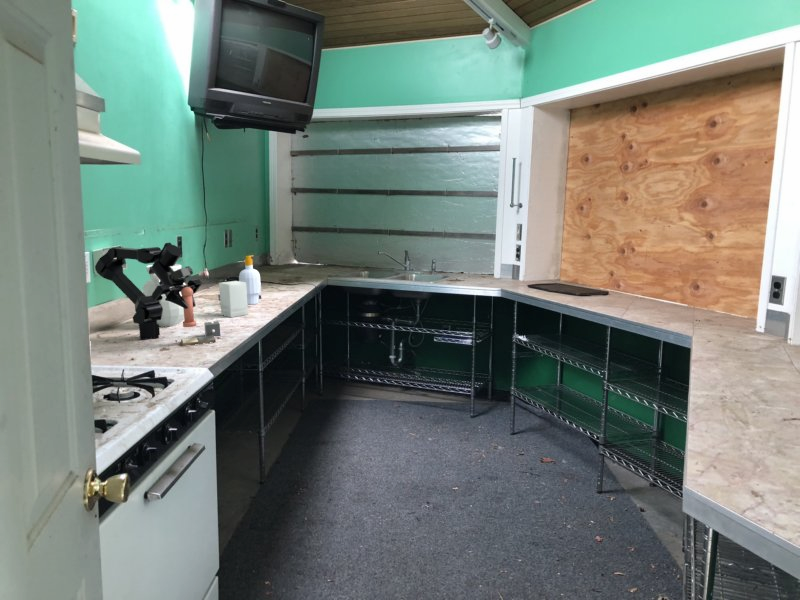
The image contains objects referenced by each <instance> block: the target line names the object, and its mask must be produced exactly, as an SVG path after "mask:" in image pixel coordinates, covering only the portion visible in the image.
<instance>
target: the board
mask: <svg viewBox="0 0 800 600" xmlns="http://www.w3.org/2000/svg"><path fill="white" fill-rule="evenodd" d="M181 342H182V343H181ZM210 342H216V343H217V341H216V337H214V336H198V337H187V338H181V339H180V343H181V345H183V346H182V347H187V346H186V345H191V346H196V345H195V344H199V345H204V344H203V343H208V344H211V343H210Z"/></svg>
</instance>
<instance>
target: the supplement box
mask: <svg viewBox="0 0 800 600" xmlns="http://www.w3.org/2000/svg"><path fill="white" fill-rule="evenodd" d="M218 287H219V299H220V300H219V301H220V303H219V304H220V314H221V316H223V315H224V317H227V318H237V317H241V316H247V315H249V308H248V306H249V305H248V304H247V289H246V282H240V281H239V280H231V281H223V282H218Z"/></svg>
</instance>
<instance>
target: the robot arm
mask: <svg viewBox="0 0 800 600" xmlns="http://www.w3.org/2000/svg"><path fill="white" fill-rule="evenodd" d="M182 254H183V250H182V249H181V247H178V246H177V245H175V244H172V242H166V243H164V245H163V247H162V249H161V248H160V247H159V246H152V247H151V246H150V247H144V248H143V247H142V248H132V247H131V248H130V247H122V246H117V247H110V248H109V249H108V250H107V252H106V253H105V254H103V255H102V256H100V257H99V259H98V260H97V262H96V264H95V265H94V268H95V272H96V273H97V274H98V275H99V276H100V277H101V278H103V279H106V280H108V281H110V282H112V283H113V284H114V285H115V286H116V287H117V288H118V289H119V290H120V291H121V292H122V293H123V294H124V295H125V296H126V297H127V299H129V300H130V301H131V302H132V303H133V304H134V309H135V310H134V311H135V314H134V315H133V316H132V321H133V324H138V331H139V340H150V338H152V339H157V338H160V334H161V333H160V332H161V331H160V326H159V324H157V320H161V317H162V312H163V308H162V305H161V304H160V303H159V302H160V300H162V296H161V295H163V294H165V295H166V299H165V300H166V301H170V302H172V303H175V304H177V305H179V306H181V307H183V308H185V309H187V308H188V306H187V304H186V302H185V301H184V299H183V296H182V297H181V295H180V293H179V292H181V290H182V289H183V288H184V287H190V288H191V289H192V290H193V295H192V300H193V308H195V307H196V304H197V303H196V301H195V297H194V294H196V293H197V292H198V290H199V288H200V287H201V286H202V285H203V283H202V281H201V280H200V279H198V278H195V279H189V280H188V282H187V280H186V279H188V278H190V277H192V275H194V270H193V268H192V267H191V266H189V265H187V266H185V267H181V269H178V270H176V271H173V269H172V268H171V267H170V266H174V265H175V264H177V262H178V261H179V260H180V258H181V256H182ZM124 259H128V260H136V261H138V262H139V263H141V264H143V265H148V264H149V265H150V264H151V265H152V266H151V267H150V270H149V273H148V275H149V274H154V273H155V274H156V276H157V277H158V278H159V280H160V282H159V284H160V285H159V286H157V287H156V289H155V290H154V292H153V293H152V296H145V295H144V294H143V291H141V289H140V288H138V286H137V285H135V283H134V282H133V281H132V280H131V279H130V278H129V277H128V276H127V275H126V274H125V273H124V264H125V260H124ZM183 283H185V284H186V285H184V284H183Z"/></svg>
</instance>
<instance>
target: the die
mask: <svg viewBox="0 0 800 600" xmlns="http://www.w3.org/2000/svg"><path fill="white" fill-rule="evenodd" d="M204 335H206V336H220V337H221V325H220V322H219V321H218V320H217V321H207V322H204Z"/></svg>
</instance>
